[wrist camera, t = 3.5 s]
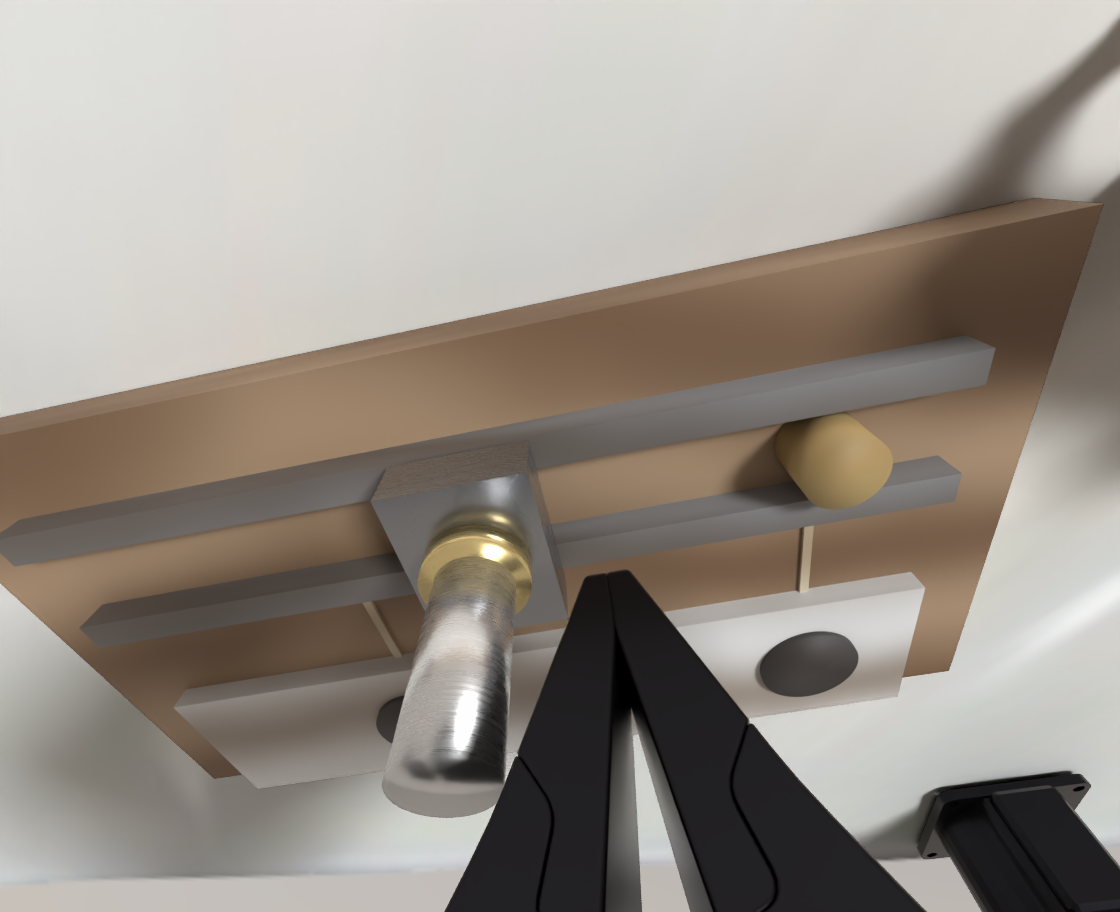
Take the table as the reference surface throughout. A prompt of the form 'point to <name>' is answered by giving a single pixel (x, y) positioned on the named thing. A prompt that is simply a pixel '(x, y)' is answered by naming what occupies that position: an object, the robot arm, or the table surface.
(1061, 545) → the table surface
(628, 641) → the robot arm
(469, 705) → the sliding handle
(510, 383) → the brown flat wooden board
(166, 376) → the table surface
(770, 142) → the table surface
